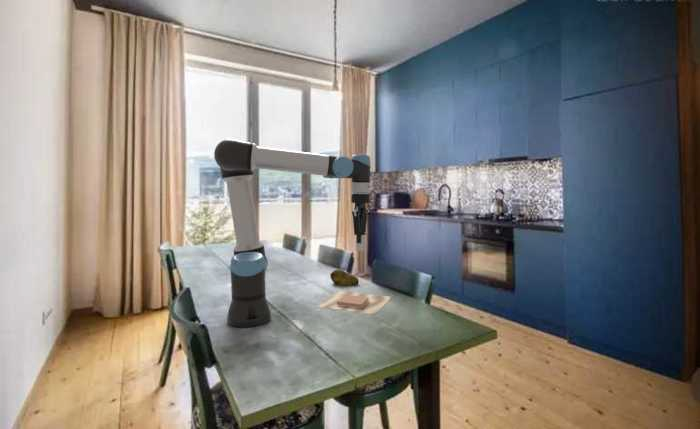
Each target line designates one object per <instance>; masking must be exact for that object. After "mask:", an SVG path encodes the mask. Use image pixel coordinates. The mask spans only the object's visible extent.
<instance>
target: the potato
mask: <svg viewBox="0 0 700 429" xmlns="http://www.w3.org/2000/svg"><path fill="white" fill-rule="evenodd" d="M329 278H330V279H331V281H332V282H333V284H335V285H339V286H343V287H349V286H350V287H352V286H358V285H359V279H358V277H356V276H354V275H352V274H350V273H348V272H346V271H344V270H342V269H334V270H333V271H331V273H330V277H329Z"/></svg>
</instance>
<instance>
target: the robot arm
mask: <svg viewBox="0 0 700 429" xmlns="http://www.w3.org/2000/svg"><path fill="white" fill-rule="evenodd" d="M213 154H214V155H213V156H214V160H215V163H216V164H217V165H218V166H217V167H219V170H220V174H221V175H220V176H221V180H223V181H224V182H225V183H226V185H227V192H228V199H229V203H230V204H229V205H230V206H229V207H230V211H231V217H232V224H233V231H234V237H235V243H236V244H235V245H236V246H235V247H233V256H232V257H231V259H230V265H229V269H230V285H231V286H230V288H231V291H230V292H231V302H230V305H229V307H228V308H229V309H228V312H227V315H226V319H227V320H226V323H227V324H228V325H229V326H230V327H235V328H253V327H257V326H258V327H259V326H261V325H265V324H266V323H268V322H269V321H270V320H271V319H272V310H271V309H270V306H269V303H268V300H267V298H266V273H267V270H268V265H269V264H268V258H267V255H266V250H265V244H264V243H263V242H261V241H260V238H259V230H258V224H257V218H256V217H257V215H256V211H255V205H254V198H253V191H252V186H251V185H252V184H251V180H252V179H253V178H254V170H255V169H259V170H260V169H261V170H266V171H267V170H268V171H269V170H270V171H277V172H278V171H279V172H285V173H286V172H287V173H297V174H304V175H306V174H307V175H314V176H315V175H316V176H321V177H323V178H324V179H351V187H350V188H351V190H350V192H351V193H352V194H351V198H350V201H351V203H352V204H354V209H353V210H352V211H351V214H352V221H353V224H352V225H353V235H354V236H355V239H356V240H355V244H356V245H355V250H356V252H364V251H365V249H364V247H365V246H364V242H365V238H364V236H366V235H367V221H368V214H369V209H367V205H366V204H370V201H371V200H370V199H371V195H370V194H369V193H370V192H371V189H370V188H372V185H371V157H370V156H369V155H367V154H353V155H352V156H351V158H350V157H348V156H346V155H339V156H336V155H329V154H323V153H322V154H321V153H314V152H312V153H311V152H304V151H296V150H289V149H288V150H287V149H279V148H272V147H271V148H270V147H263V146H258V145H257V144H256V143H255V142H247V141H243V140H239V139H235V138H227V139H224V140H221V141H220V142H219V143H218V144H216V147H215V148H214V153H213Z"/></svg>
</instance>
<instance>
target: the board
mask: <svg viewBox="0 0 700 429" xmlns="http://www.w3.org/2000/svg"><path fill="white" fill-rule="evenodd" d="M345 295H352V296H361V297H369V302H368V303H366V304H365V305H364V306H363V307H362V308H353V307H345V306H338V305H337V301H338V300H339V299H341V298H342V297H343V296H345ZM391 298H392V296H389V295H380V294H372V293H371V294H369V293H363V292H362V293H361V292H354V291H344V290H337V291H336V292H335V293H333V294H332V295H330V296H329V297H327V298H326V299H325V300H324V301H322V302H320V303H319V304H317V305H316V306H315V307H316V308H323V309H331V310H340V311H346V312H353V313H354V312H355V313H361V314H367V315H368V314H369V315H377V314H378V313H379V312H380V311H381V309H382V308H383V307H384V306H385V305H386V304H387V303H388V302H389V300H390V299H391Z"/></svg>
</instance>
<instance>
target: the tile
mask: <svg viewBox="0 0 700 429" xmlns="http://www.w3.org/2000/svg"><path fill="white" fill-rule="evenodd" d="M368 302H369V297H361V296H352V295H345V296H343V297H342V298H341V299H339V300H338V301H337V305H338V306H345V307H353V308H362V307H363V306H364V305H365V304H366V303H368Z"/></svg>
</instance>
